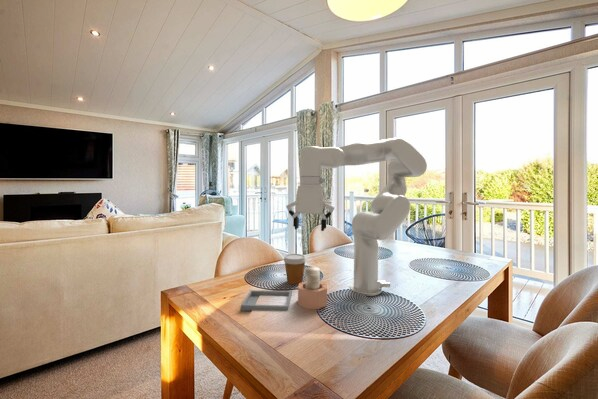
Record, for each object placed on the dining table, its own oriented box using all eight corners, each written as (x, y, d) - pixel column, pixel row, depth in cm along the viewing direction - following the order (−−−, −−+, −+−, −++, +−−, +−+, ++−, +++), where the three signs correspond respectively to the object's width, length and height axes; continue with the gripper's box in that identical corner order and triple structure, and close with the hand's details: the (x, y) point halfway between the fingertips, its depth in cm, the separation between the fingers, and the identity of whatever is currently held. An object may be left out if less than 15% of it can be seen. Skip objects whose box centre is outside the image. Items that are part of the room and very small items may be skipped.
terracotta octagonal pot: (326, 299, 106) (326, 281, 105) (327, 312, 96) (327, 291, 95) (299, 298, 106) (299, 280, 106) (297, 311, 96) (297, 291, 96)
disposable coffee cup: (303, 289, 116) (303, 260, 115) (281, 287, 118) (281, 258, 117) (307, 280, 125) (307, 254, 124) (286, 279, 127) (286, 253, 126)
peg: (319, 299, 103) (319, 267, 102) (319, 305, 98) (319, 271, 97) (305, 299, 104) (305, 266, 103) (305, 305, 99) (305, 271, 98)
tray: (291, 296, 108) (291, 291, 108) (288, 312, 95) (288, 306, 95) (250, 295, 109) (250, 290, 109) (241, 311, 96) (241, 305, 96)
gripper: (336, 182, 102) (334, 229, 103) (290, 181, 106) (289, 226, 107) (333, 182, 95) (332, 232, 96) (284, 181, 99) (283, 229, 100)
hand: (309, 229), depth 102 cm, fingers open, 9 cm apart
